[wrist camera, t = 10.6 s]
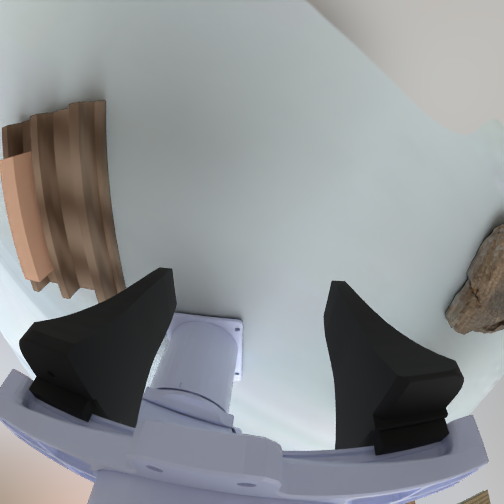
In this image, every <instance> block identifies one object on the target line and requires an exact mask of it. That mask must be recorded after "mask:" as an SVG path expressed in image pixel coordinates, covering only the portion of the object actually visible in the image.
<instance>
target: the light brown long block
mask: <svg viewBox="0 0 504 504" xmlns="http://www.w3.org/2000/svg"><path fill="white" fill-rule="evenodd" d="M0 173H1V181H2V188H3V194H4V200H5V205H6V210H7V215H8V220H9V224H10V229H11V233H12V237H13V241H14V244H15V248H16V251H17V255H18V258H19V261H20V265H21V268H22V271H23V274H24V277H25V279H28V280H32V281H37V282H41V281H42V280H43V279H44V278H45V277H46V276H47V275H48V274H49V273H50V272H52V271H53V270H54V269H53V266H52V262H51V259H50V255H49V251H48V247H47V244H46V239H45V235H44V231H43V226H42V222H41V217H40V211H39V206H38V200H37V194H36V187H35V180H34V172H33V162H32V151H28V152H24V153H21V154H18V155H15V156H11V157H8V158H5V159H3V160H0Z"/></svg>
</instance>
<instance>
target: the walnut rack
mask: <svg viewBox="0 0 504 504" xmlns="http://www.w3.org/2000/svg"><path fill="white" fill-rule="evenodd" d="M2 143H3V157H4V159H5V158H8V157H11V156H15V155H18V154H21V153H24V152H28V151H32V162H33V172H34V180H35V187H36V194H37V200H38V206H39V211H40V217H41V222H42V226H43V231H44V235H45V239H46V244H47V247H48V251H49V255H50V259H51V262H52V266H53V269H54V270H53V271H52V272H50V273H49V274H48V275H47V276H46V277H45V278H44V279H43V280H42V281H41V282H37V281H32V280H30V281H31V284H32V287H33V290H34V291H37V292H40V291H41V290H42V289H43V288H44V287H45V286H46V285H47V284H48V283H49V282H54V283H58V285H59V288H60V291H61V294H62V297H63V298H67V299H70V298H71V297H72V296H73V295H74V293H75V292H76V291H77V290H78V289H79V288H86V289H92V290H95V293H96V296H97V299H98V303H101V302H103V301H105V300H107V299H109V298H111V297H113V296H115V295H116V294H118V293H120V292H121V291H123V290H125V289H126V287H125V283H124V278H123V273H122V268H121V263H120V258H119V253H118V247H117V241H116V235H115V229H114V222H113V215H112V207H111V198H110V189H109V178H108V166H107V149H106V101H95V102H76V103H72V104H69V108H66V109H63V110H59V111H56V112H51V113H43V114H36V115H33V116H31V117H30V120H28V121H25V122H23V123H18V124H13V125H8V126H5V127H3V128H2Z"/></svg>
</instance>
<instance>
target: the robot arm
mask: <svg viewBox="0 0 504 504" xmlns="http://www.w3.org/2000/svg"><path fill="white" fill-rule="evenodd" d="M176 305H177V303H176V296H175V288H174V280H173V272H172V269H170V268H158V269H156V270H155V271H153V272H151V273H150V274H148V275H147V276H145V277H144V278H142V279H141V280H139V281H137V282H136V283H134V284H133V285H131V286H130V287H128V288H126V289H125V290H123V291H121V292H120V293H118V294H116V295H115V296H113V297H111V298H109V299H107V300H105V301H103V302H101V303H99V304H97V305H95V306H92V307H90V308H87V309H85V310H82V311H79V312H77V313H74V314H70V315H67V316H63V317H60V318H56V319H51V320H45V321H40V322H34V323H33V324H32V326H31V327H30V328H29V329H28V331H27V332H26V333H25V334H24V335H23V337H22V338H21V339H20V341H19V346H20V350H21V352H22V354H23V356H24V358H25V359H26V361H27V363H28V364H29V366H30V367H31V369H32V370H33V372H34V373H35V375H36V376H37V377H36V378H35V380H34V381H33V380H31V379H30V378H29V377H28V376H26V375H24V374H22V373H21V372H19V371H17V370H15V369H13V370H12V371H11V372H10V374H9V375H8V377H7V378H6V379H5V381H4V382H3V384H2V385H1V387H0V420H1V422H2V423H3V424H5V425H6V426H7V427H8V428H9V429H10V430H11V431H12V432H13V433H14V434H15V435H16V436H17V437H18V438H20V439H21V440H23V441H24V442H25V443H27V444H28V445H30V446H31V447H33V448H34V449H36V450H37V451H39V452H41V453H42V454H44V455H45V456H47V457H48V458H50V459H52V460H53V461H55V462H57V463H58V464H60V465H62V466H64V467H65V468H67V469H69V470H71V471H72V472H74V473H76V474H78V475H80V476H82V477H84V478H86V479H88V480H90V481H92V482H94V486H93V489H92V492H91V495H90V498H89V500H88V503H87V504H405V503H408V502H411V501H414V500H417V499H420V498H423V497H426V496H428V495H431V494H434V493H437V492H439V491H442V490H444V489H447V488H449V487H452V486H454V485H455V484H457V483H459V482H460V481H462V480H463V479H465V478H467V477H468V476H470V475H471V474H473V473H474V472H476V471H477V470H479V469H480V468H482V467H483V466H485V465H486V464H487V463H488V462H489V460H488V457H487V454H486V450H485V447H484V444H483V441H482V438H481V436H480V433H479V430H478V427H477V425H476V422H475V419H474V417H473V415H469V416H466V417H463V418H459V419H456V420H453V421H451V422H450V423H448V424H446V421H445V418H446V417H447V416H448V413H447V410H446V407H447V406H448V405H449V403H450V402H451V401H452V400H453V399H454V397H455V396H456V395H457V394H458V392H459V391H460V389H461V388H462V385H463V382H464V377H463V375H462V373H461V371H460V369H459V367H458V365H457V363H456V361H454V360H452V359H449V358H447V357H444V356H442V355H439V354H437V353H434V352H432V351H430V350H428V349H426V348H424V347H423V346H421V345H419V344H417V343H415V342H414V341H412V340H411V339H409V338H407V337H406V336H404V335H403V334H401V333H400V332H399V331H397V330H396V329H395V328H393V327H392V326H391V325H389V324H388V323H387V322H386V321H384V320H383V319H382V318H381V317H380V316H379V315H378V314H377V313H376V312H374V311H373V310H372V309H371V308H370V307H369V306H368V305H367V304H366V303H365V302H364V301H363V300H362V299H361V298H360V296H359V295H358V294H357V293H356V292H355V291H354V290H353V289H352V288H351V287H350V286H349V285H348V284H347V283H346V282H345V281H332V282H331V287H330V291H329V296H328V300H327V304H326V308H325V312H324V329H325V337H326V342H327V347H328V351H329V356H330V361H331V366H332V371H333V376H334V384H335V400H336V443H335V450H321V451H282V448H281V446H280V445H279V444H278V443H277V442H274V441H272V440H270V439H268V438H266V437H260V436H254V435H249V434H242V432H241V430H240V429H239V428H237V427H233V420H234V416H233V415H231V414H228V413H229V406H230V400H231V394H232V387H233V381H240V380H241V378H242V344H243V322H242V321H241V320H238V319H228V318H217V317H208V316H199V315H190V314H182V313H174V312H175V308H176ZM237 327H238V328H240V329H237ZM165 334H167V339H168V344H167V346H166V349H165V351H164V354H163V356H162V358H161V361H160V363H159V366H158V368H157V370H156V373H155V375H154V378H153V380H152V383H151V385H150V387H147V388H146V390H145V393H144V389H145V386H146V382H147V378H148V375H149V372H150V369H151V366H152V363H153V360H154V358H155V356H156V354H157V351H158V349H159V347H160V345H161V343H162V341H163V339H164V337H165ZM237 372H238V373H237ZM143 393H144V395H143ZM142 397H143V398H142Z"/></svg>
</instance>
